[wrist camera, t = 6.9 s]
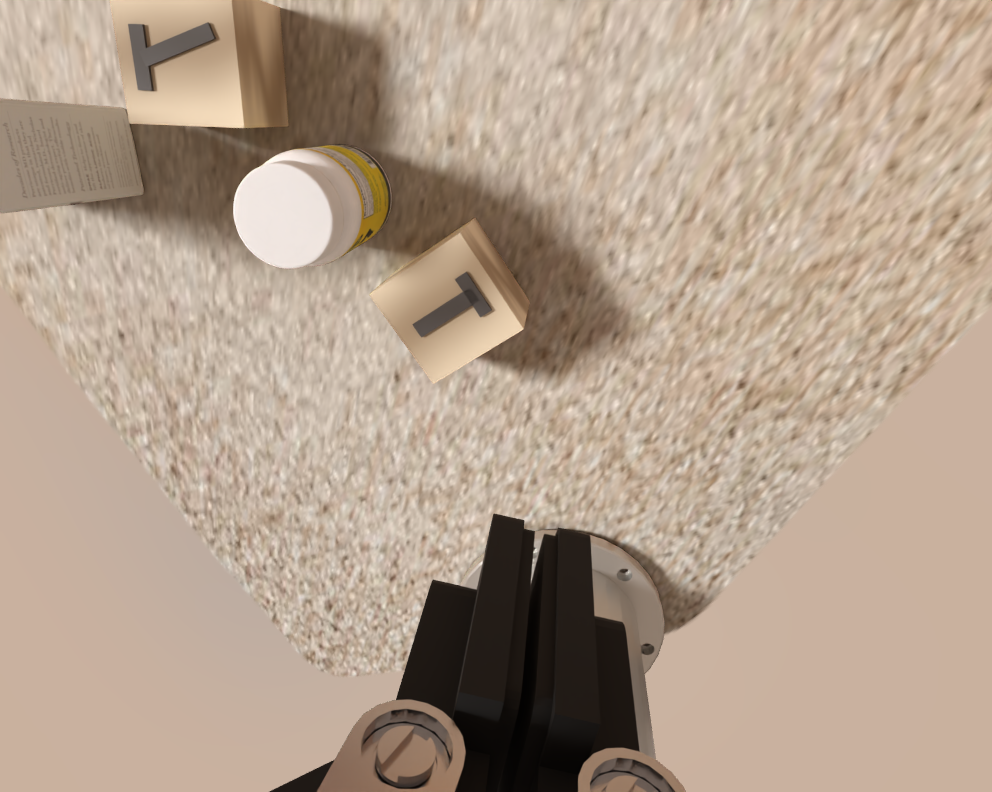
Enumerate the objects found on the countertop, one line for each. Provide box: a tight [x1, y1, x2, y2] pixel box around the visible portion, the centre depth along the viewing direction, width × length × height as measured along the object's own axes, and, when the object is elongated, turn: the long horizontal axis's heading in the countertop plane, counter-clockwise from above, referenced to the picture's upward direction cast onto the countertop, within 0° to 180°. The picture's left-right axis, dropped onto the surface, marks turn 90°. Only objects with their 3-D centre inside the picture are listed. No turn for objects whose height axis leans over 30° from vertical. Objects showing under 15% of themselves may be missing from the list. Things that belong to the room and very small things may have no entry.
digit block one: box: [369, 218, 530, 384], centre depth 33 cm, size 5×5×5 cm
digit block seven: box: [110, 0, 289, 128], centre depth 30 cm, size 5×5×5 cm
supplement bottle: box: [233, 144, 392, 269], centre depth 30 cm, size 5×5×8 cm
